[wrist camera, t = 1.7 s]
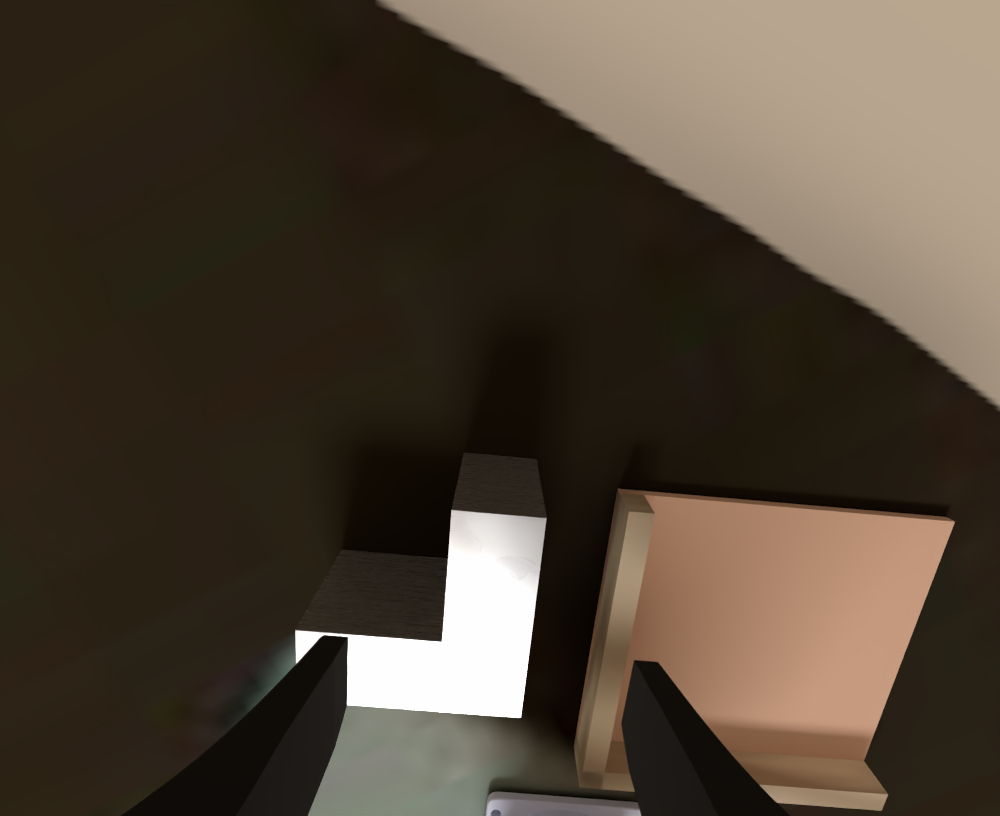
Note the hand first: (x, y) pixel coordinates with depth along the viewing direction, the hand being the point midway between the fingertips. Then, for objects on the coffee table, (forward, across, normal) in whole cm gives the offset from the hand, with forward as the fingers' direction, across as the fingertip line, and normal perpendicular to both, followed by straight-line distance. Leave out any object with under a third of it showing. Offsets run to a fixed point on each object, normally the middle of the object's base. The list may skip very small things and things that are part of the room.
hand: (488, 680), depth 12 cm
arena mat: (+9, -12, +6) cm, 16 cm away
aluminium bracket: (+9, +2, +1) cm, 9 cm away
